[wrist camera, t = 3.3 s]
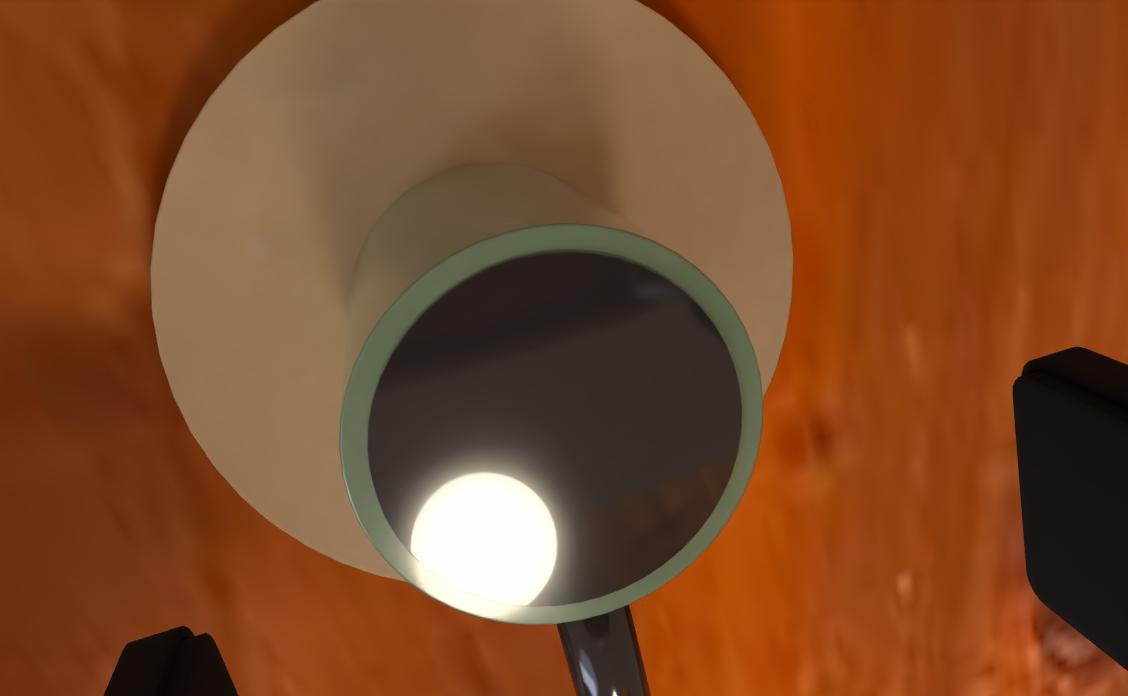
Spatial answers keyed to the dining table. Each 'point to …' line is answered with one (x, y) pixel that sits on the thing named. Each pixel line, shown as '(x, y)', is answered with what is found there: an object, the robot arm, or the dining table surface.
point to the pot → (481, 302)
